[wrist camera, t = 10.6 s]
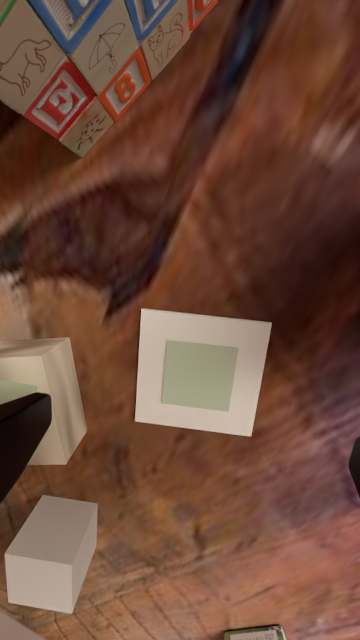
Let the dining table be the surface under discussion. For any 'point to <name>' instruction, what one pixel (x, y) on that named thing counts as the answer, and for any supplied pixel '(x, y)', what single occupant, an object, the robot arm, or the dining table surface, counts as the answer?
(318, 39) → the dining table surface
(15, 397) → the sage block
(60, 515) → the grey block
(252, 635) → the syrup box
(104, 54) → the stack of blocks
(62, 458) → the birch base block
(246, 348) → the card
